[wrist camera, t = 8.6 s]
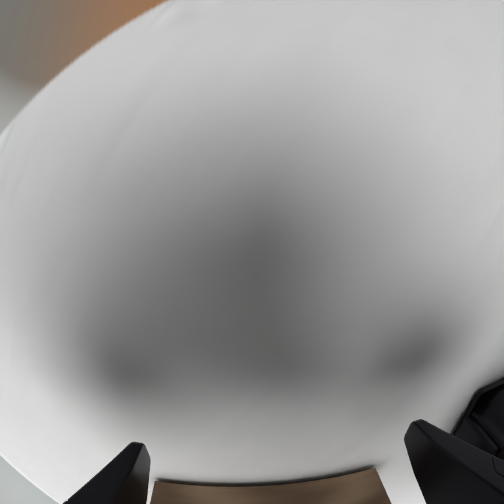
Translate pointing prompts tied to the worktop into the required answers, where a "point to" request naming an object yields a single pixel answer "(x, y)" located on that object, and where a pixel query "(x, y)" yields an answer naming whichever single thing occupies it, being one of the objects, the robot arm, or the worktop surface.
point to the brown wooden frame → (280, 492)
